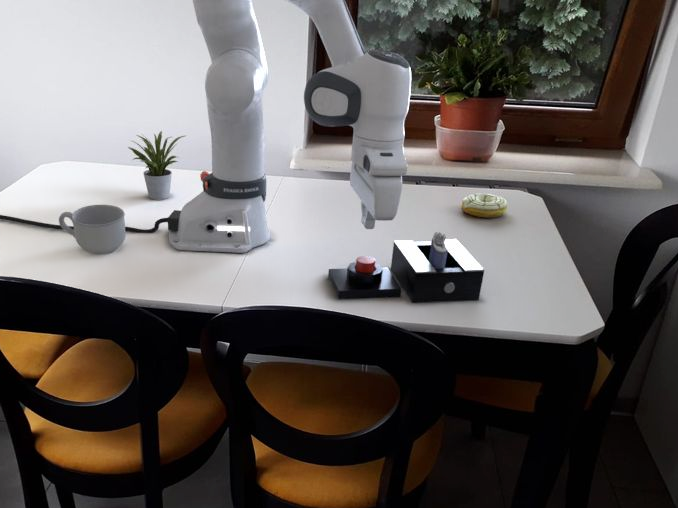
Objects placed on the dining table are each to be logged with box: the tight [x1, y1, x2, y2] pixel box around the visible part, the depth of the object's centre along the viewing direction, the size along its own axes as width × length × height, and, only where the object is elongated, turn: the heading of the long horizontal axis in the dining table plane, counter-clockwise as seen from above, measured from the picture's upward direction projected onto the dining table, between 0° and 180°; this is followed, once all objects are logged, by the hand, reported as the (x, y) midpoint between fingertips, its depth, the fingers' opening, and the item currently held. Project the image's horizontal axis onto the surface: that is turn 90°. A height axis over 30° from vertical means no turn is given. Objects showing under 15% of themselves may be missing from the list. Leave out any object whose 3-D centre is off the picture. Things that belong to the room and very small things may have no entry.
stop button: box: [355, 255, 376, 273], centre depth 134 cm, size 4×4×2 cm
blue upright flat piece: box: [429, 231, 448, 269], centre depth 135 cm, size 9×3×11 cm, turn 172°
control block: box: [327, 261, 402, 300], centre depth 135 cm, size 12×10×4 cm
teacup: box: [58, 204, 126, 255], centre depth 148 cm, size 14×11×8 cm
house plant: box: [127, 130, 186, 201], centre depth 176 cm, size 14×14×16 cm
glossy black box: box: [390, 238, 485, 304], centre depth 136 cm, size 14×16×6 cm
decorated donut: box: [461, 193, 508, 219], centre depth 174 cm, size 10×11×4 cm
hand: (367, 226), depth 130 cm, fingers closed
